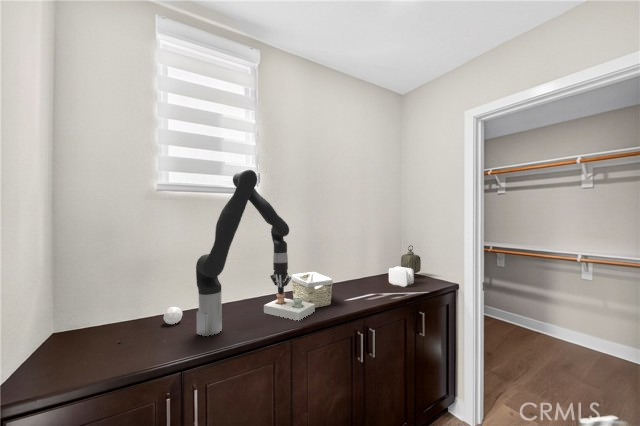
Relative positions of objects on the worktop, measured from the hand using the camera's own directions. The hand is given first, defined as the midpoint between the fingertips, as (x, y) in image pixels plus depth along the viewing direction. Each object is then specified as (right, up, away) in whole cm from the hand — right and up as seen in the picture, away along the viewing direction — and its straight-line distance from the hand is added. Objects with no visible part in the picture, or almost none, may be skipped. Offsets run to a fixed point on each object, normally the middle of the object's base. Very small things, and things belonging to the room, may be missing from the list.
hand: (280, 293), depth 141 cm
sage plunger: (+10, -8, -6) cm, 14 cm away
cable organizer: (+78, -8, +49) cm, 92 cm away
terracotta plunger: (0, -7, 0) cm, 7 cm away
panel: (+5, -9, -3) cm, 10 cm away
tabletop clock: (+92, -8, +68) cm, 115 cm away
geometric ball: (-48, -9, -15) cm, 51 cm away
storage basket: (+16, -9, +14) cm, 22 cm away
